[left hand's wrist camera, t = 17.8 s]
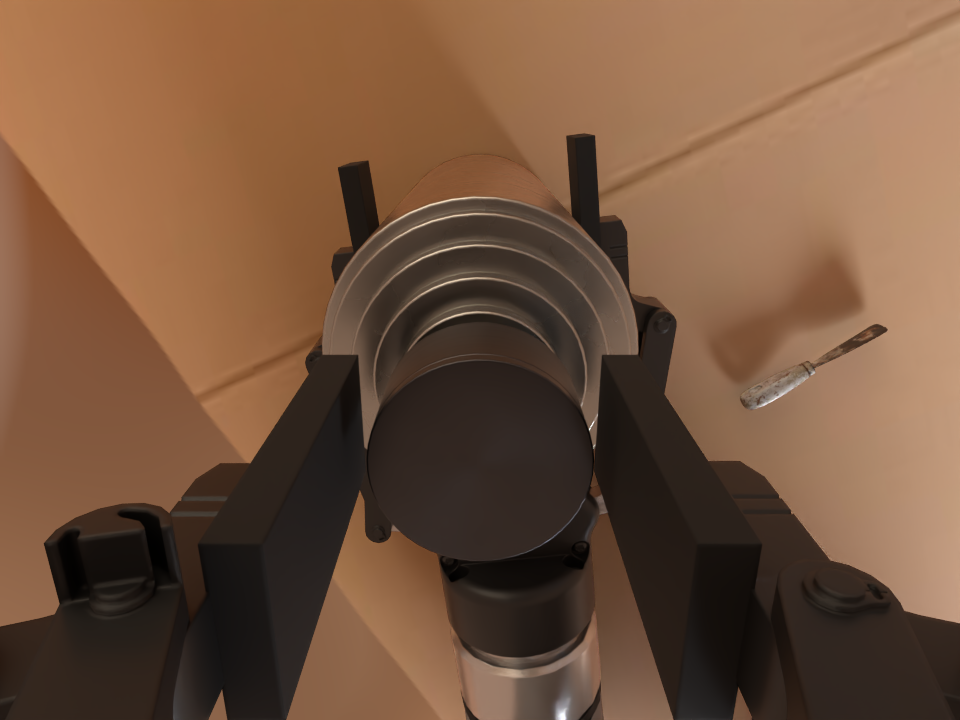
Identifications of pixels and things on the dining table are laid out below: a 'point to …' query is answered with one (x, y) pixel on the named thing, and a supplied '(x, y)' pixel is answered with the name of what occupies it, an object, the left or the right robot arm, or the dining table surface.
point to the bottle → (480, 278)
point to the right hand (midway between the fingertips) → (466, 150)
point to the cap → (480, 444)
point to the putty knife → (802, 371)
